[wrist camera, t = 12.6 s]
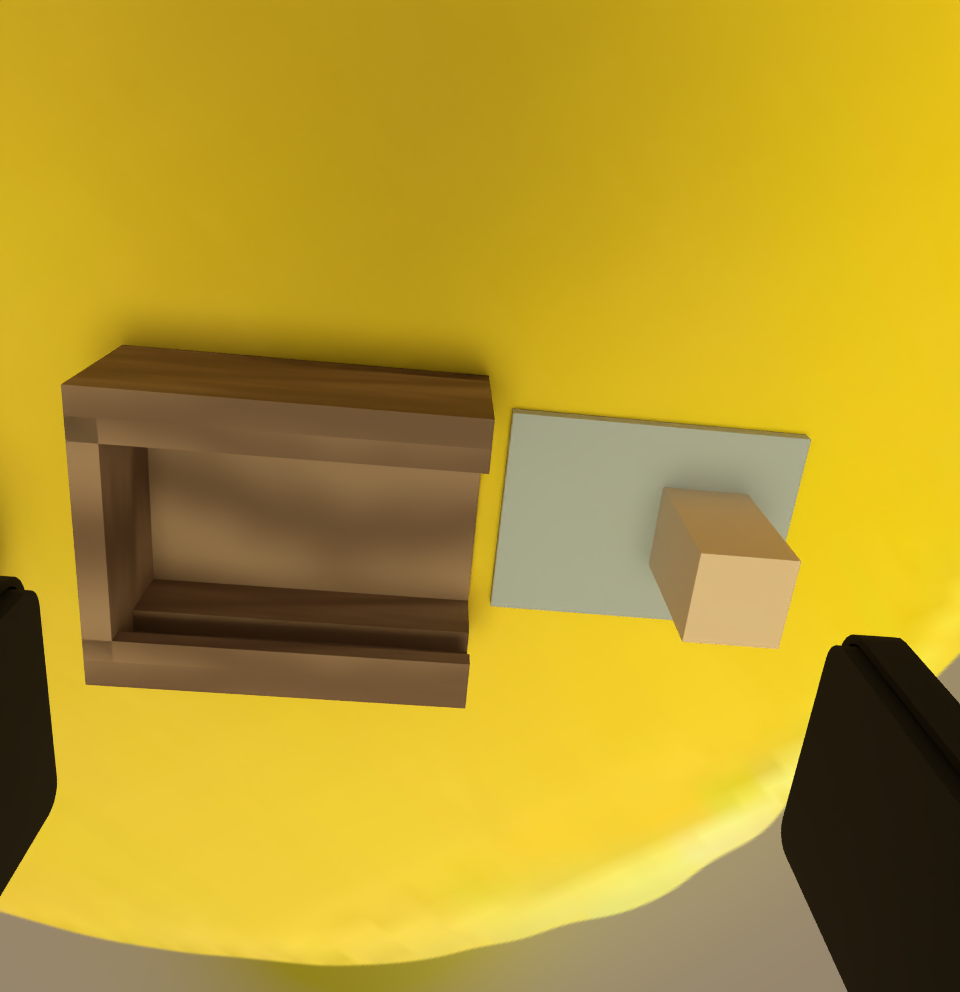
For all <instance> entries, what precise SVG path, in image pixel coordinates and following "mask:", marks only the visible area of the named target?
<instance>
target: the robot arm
mask: <svg viewBox="0 0 960 992" xmlns="http://www.w3.org/2000/svg"><path fill="white" fill-rule="evenodd" d="M56 789H57V775H56V765H55V755H54V745H53V735H52V725H51V715H50V705H49V695H48V685H47V675H46V665H45V655H44V645H43V636H42V626H41V616H40V606H39V600H38V597H37V595H36V593H35V592H34V591H31V590H24V587H23V585H22V583H21V581H20V580H19V579H18V578H17V577H9V576H0V896H1V894H2V892H3V891H4V889H5V887H6V886H7V884H8V882H9V881H10V879H11V877H12V876H13V874H14V872H15V871H16V869H17V867H18V866H19V864H20V862H21V861H22V859H23V857H24V855H25V854H26V852H27V850H28V849H29V847H30V845H31V844H32V842H33V840H34V839H35V837H36V835H37V834H38V832H39V830H40V829H41V827H42V825H43V824H44V822H45V820H46V819H47V817H48V815H49V813H50V811H51V809H52V806H53V803H54V800H55V795H56ZM781 838H782V845H783V850H784V852H785V855H786V857H787V860H788V862H789V864H790V866H791V868H792V870H793V872H794V875H795V877H796V879H797V882H798V884H799V886H800V888H801V890H802V893H803V895H804V897H805V899H806V901H807V903H808V906H809V908H810V910H811V912H812V914H813V917H814V919H815V921H816V923H817V925H818V927H819V929H820V932H821V934H822V936H823V938H824V941H825V943H826V945H827V947H828V950H829V952H830V954H831V956H832V958H833V960H834V963H835V965H836V967H837V969H838V972H839V974H840V976H841V978H842V980H843V983H844V984H845V987H846V989H847V991H848V992H960V704H959V702H958V701H957V700H956V699H955V698H954V697H953V696H952V694H950V692H949V691H948V690H947V689H946V688H945V687H944V686H943V684H942V683H941V682H940V681H939V680H938V679H937V677H936V676H935V675H934V674H933V673H932V672H931V671H930V670H929V668H928V667H927V666H926V665H925V664H924V663H923V662H922V660H921V659H920V658H919V657H918V656H917V655H916V654H915V652H914V651H913V650H912V649H911V648H910V647H909V646H908V645H907V643H906V642H904V641H903V640H902V639H901V638H895V637H881V636H866V635H850V636H848V637H847V638H846V639H845V640H844V642H843V643H842V646H839V645H835V646H833V647H832V648H831V649H830V650H829V652H828V655H827V657H826V661H825V664H824V668H823V672H822V675H821V679H820V683H819V687H818V690H817V694H816V698H815V701H814V705H813V709H812V712H811V716H810V720H809V723H808V727H807V731H806V734H805V738H804V742H803V746H802V749H801V753H800V757H799V760H798V764H797V768H796V771H795V775H794V779H793V782H792V786H791V790H790V793H789V797H788V801H787V804H786V808H785V812H784V816H783V820H782V825H781Z"/></svg>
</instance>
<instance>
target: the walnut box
mask: <svg viewBox="0 0 960 992" xmlns="http://www.w3.org/2000/svg"><path fill="white" fill-rule="evenodd" d="M61 390H62V402H63V415H64V427H65V439H66V451H67V463H68V475H69V488H70V500H71V512H72V524H73V536H74V548H75V561H76V573H77V585H78V597H79V609H80V621H81V634H82V646H83V658H84V670H85V682H86V685H100V686H116V687H132V688H148V689H164V690H180V691H196V692H212V693H228V694H244V695H260V696H276V697H292V698H308V699H324V700H340V701H356V702H372V703H388V704H404V705H420V706H436V707H452V708H465V705H466V695H467V685H468V676H469V666H470V660H469V654H467V646H468V636H469V622H468V595H469V585H470V575H471V565H472V554H473V544H474V534H475V524H476V514H477V503H478V493H479V483H480V473H483V474H489V470H490V460H491V450H492V440H493V430H494V420H495V419H494V411H493V404H492V397H491V389H490V382H489V376H486V375H474V374H462V373H450V372H438V371H426V370H414V369H402V368H390V367H378V366H366V365H355V364H343V363H331V362H319V361H307V360H295V359H283V358H271V357H259V356H247V355H235V354H223V353H211V352H199V351H187V350H175V349H163V348H151V347H139V346H127V345H122V346H120V347H119V348H117V349H116V350H114V351H112V352H111V353H109V354H108V355H106V356H105V357H103V358H101V359H100V360H98V361H97V362H95V363H94V364H92V365H91V366H89V367H87V368H86V369H84V370H83V371H81V372H80V373H78V374H77V375H75V376H73V377H72V378H70V379H69V380H67V381H66V382H64V383H62V384H61Z"/></svg>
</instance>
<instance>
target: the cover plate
mask: <svg viewBox="0 0 960 992" xmlns="http://www.w3.org/2000/svg"><path fill="white" fill-rule="evenodd" d="M810 442H811V439H810V438H809V437H808V436H806V435H802V434H791V433H780V432H769V431H758V430H746V429H735V428H724V427H713V426H702V425H690V424H679V423H668V422H657V421H646V420H635V419H623V418H612V417H601V416H590V415H579V414H567V413H556V412H545V411H534V410H523V409H513V410H512V419H511V427H510V436H509V444H508V453H507V461H506V470H505V478H504V487H503V495H502V504H501V512H500V521H499V529H498V538H497V546H496V555H495V563H494V572H493V581H492V589H491V598H490V604H491V606H496V607H509V608H522V609H535V610H548V611H561V612H574V613H587V614H600V615H613V616H626V617H639V618H652V619H666V620H673V621H674V623H675V626H676V628H677V630H678V633H679V635H680V637H681V640H682V642H693V643H707V644H720V645H733V646H747V647H760V648H773V649H778V648H779V645H780V641H781V637H782V633H783V629H784V625H785V621H786V618H787V614H788V610H789V606H790V602H791V598H792V594H793V591H794V587H795V583H796V579H797V575H798V571H799V567H800V564H801V561H800V559H799V558H798V557H797V556H796V554H795V553H794V552H793V551H792V549H791V548H790V547H789V545H788V544H787V543H786V538H787V534H788V530H789V526H790V522H791V518H792V514H793V510H794V506H795V502H796V498H797V494H798V490H799V486H800V482H801V478H802V474H803V470H804V466H805V462H806V458H807V454H808V450H809V446H810Z"/></svg>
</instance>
